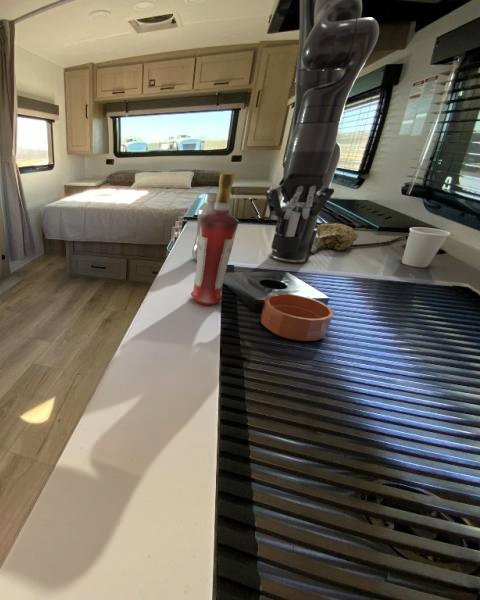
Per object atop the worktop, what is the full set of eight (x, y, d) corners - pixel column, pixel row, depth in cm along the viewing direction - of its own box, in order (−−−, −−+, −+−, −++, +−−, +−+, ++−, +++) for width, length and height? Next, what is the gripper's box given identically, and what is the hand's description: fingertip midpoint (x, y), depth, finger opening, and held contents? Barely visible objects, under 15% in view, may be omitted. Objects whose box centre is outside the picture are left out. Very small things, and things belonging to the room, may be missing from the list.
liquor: (190, 292, 82) (209, 171, 69) (222, 297, 79) (247, 172, 67) (187, 304, 76) (206, 174, 63) (221, 310, 73) (248, 175, 61)
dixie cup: (441, 269, 93) (459, 235, 89) (407, 268, 95) (422, 233, 90) (420, 260, 101) (436, 227, 96) (389, 258, 102) (402, 226, 98)
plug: (288, 245, 76) (297, 209, 73) (302, 251, 72) (312, 214, 68) (266, 245, 76) (275, 210, 73) (279, 252, 72) (289, 215, 68)
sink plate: (283, 281, 87) (286, 271, 86) (325, 310, 73) (329, 297, 71) (223, 283, 87) (225, 272, 85) (253, 311, 72) (256, 299, 71)
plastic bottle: (215, 264, 99) (227, 195, 90) (191, 263, 101) (201, 195, 92) (211, 257, 105) (223, 192, 96) (189, 256, 106) (198, 191, 97)
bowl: (300, 313, 71) (307, 292, 69) (339, 342, 61) (348, 319, 59) (249, 315, 71) (254, 294, 69) (279, 344, 61) (286, 320, 59)
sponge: (350, 257, 107) (364, 233, 118) (352, 234, 104) (366, 212, 115) (303, 255, 117) (320, 233, 128) (303, 234, 114) (320, 213, 124)
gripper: (287, 150, 61) (265, 241, 69) (360, 149, 62) (330, 239, 69) (265, 149, 68) (247, 231, 76) (331, 147, 68) (307, 230, 76)
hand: (287, 235), depth 73 cm, fingers closed on plug, 2 cm apart
